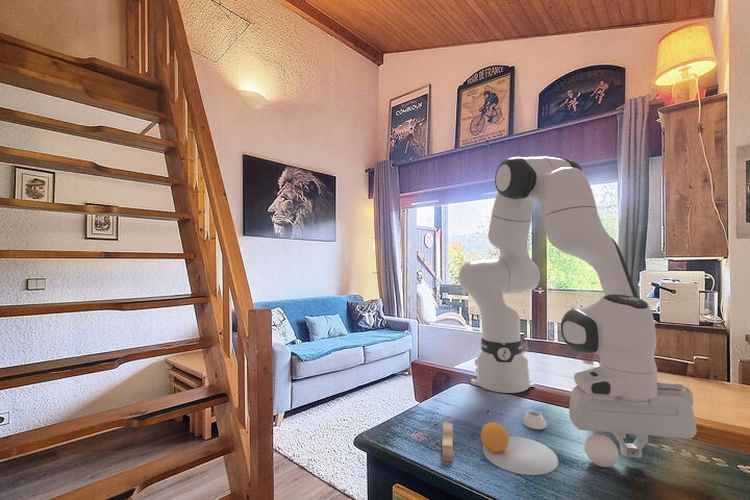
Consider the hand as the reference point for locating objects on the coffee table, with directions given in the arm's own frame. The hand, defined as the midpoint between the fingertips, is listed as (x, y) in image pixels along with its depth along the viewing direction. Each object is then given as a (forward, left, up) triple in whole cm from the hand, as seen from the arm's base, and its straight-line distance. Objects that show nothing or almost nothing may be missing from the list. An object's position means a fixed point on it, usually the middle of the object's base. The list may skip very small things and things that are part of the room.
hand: (630, 455), depth 68 cm
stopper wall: (0, -34, -2) cm, 34 cm away
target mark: (0, -20, -2) cm, 20 cm away
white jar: (-14, -14, -2) cm, 20 cm away
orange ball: (0, -25, +1) cm, 25 cm away
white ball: (+1, -5, +1) cm, 6 cm away
